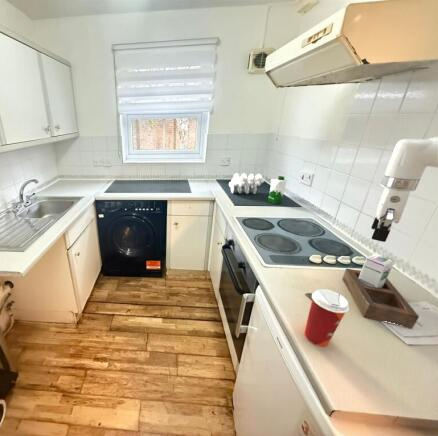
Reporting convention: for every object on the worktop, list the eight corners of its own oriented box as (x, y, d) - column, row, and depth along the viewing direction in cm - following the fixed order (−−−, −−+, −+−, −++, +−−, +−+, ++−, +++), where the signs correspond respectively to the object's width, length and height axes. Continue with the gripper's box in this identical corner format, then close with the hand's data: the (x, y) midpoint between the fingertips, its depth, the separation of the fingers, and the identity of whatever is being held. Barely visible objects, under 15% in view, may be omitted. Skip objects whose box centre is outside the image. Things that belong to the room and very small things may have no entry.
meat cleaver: (319, 295, 87) (303, 292, 88) (320, 292, 86) (304, 289, 88) (330, 317, 76) (311, 314, 78) (330, 314, 76) (312, 311, 78)
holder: (379, 285, 91) (384, 275, 90) (412, 328, 73) (419, 316, 71) (342, 278, 96) (346, 268, 94) (363, 317, 77) (369, 305, 75)
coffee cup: (337, 354, 65) (356, 312, 59) (303, 344, 68) (317, 304, 62) (327, 330, 72) (343, 291, 66) (297, 323, 75) (309, 284, 69)
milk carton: (283, 203, 180) (289, 177, 173) (274, 205, 177) (280, 178, 169) (273, 200, 188) (278, 175, 180) (265, 201, 184) (270, 176, 177)
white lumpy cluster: (227, 196, 211) (256, 195, 209) (232, 193, 194) (264, 192, 192) (226, 175, 212) (255, 174, 210) (232, 171, 194) (263, 169, 193)
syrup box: (372, 298, 85) (387, 264, 79) (353, 289, 90) (366, 256, 84) (380, 294, 87) (396, 260, 82) (361, 284, 92) (375, 252, 87)
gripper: (422, 191, 62) (396, 249, 68) (413, 179, 74) (391, 229, 80) (383, 186, 66) (362, 241, 73) (380, 176, 78) (362, 223, 85)
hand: (377, 234), depth 76 cm, fingers open, 9 cm apart
